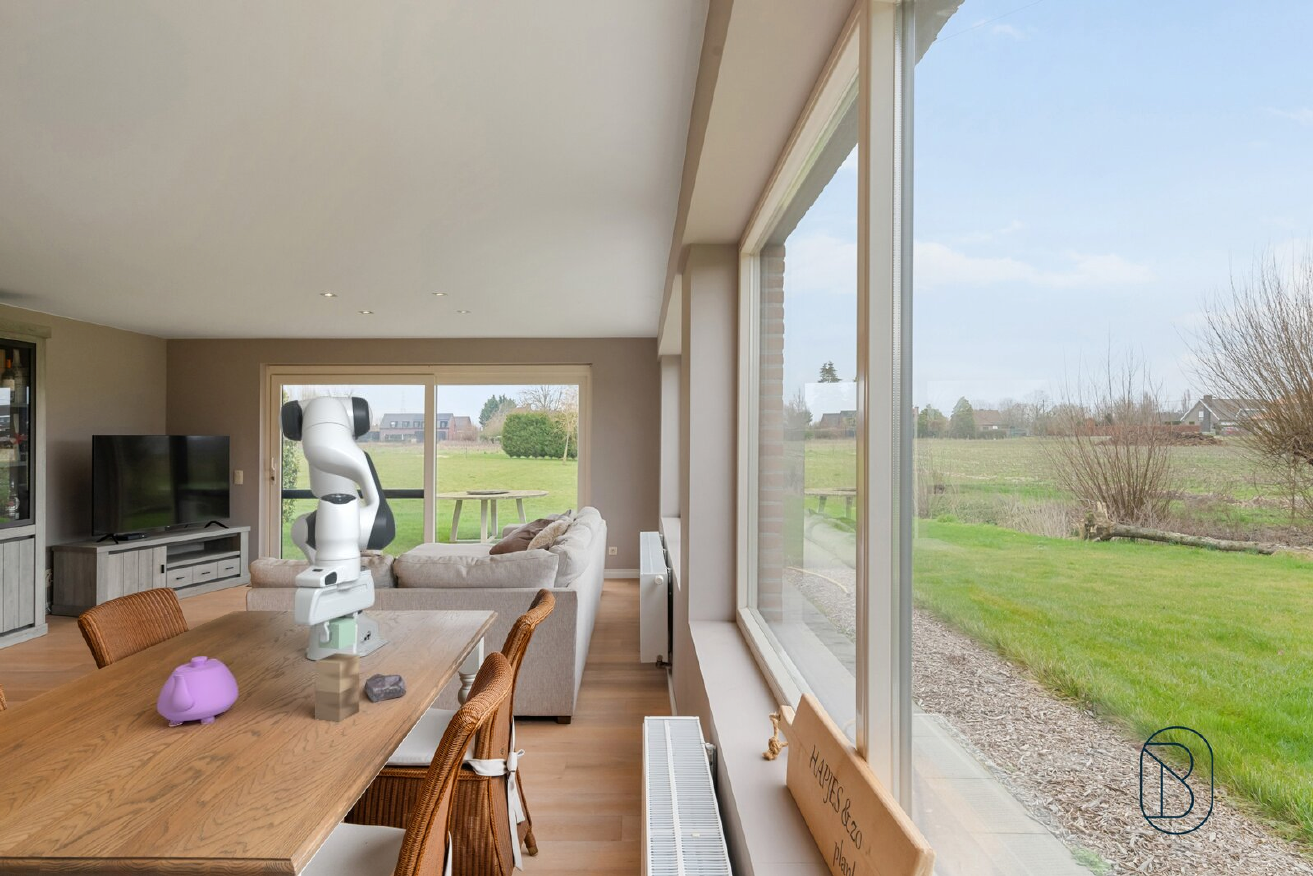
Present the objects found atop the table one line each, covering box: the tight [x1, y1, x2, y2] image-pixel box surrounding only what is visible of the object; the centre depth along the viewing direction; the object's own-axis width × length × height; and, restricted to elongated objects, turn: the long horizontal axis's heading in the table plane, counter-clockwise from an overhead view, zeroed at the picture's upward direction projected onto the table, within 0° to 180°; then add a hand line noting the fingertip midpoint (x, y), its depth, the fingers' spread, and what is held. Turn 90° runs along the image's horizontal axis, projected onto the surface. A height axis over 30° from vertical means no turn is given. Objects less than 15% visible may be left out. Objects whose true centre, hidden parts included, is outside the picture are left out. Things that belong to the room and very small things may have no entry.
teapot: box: [156, 655, 239, 725], centre depth 144 cm, size 20×14×12 cm
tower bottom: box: [314, 683, 360, 723], centre depth 146 cm, size 6×6×6 cm
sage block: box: [318, 618, 356, 649], centre depth 146 cm, size 5×5×5 cm
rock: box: [363, 673, 407, 703], centre depth 159 cm, size 8×11×5 cm
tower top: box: [314, 653, 360, 693], centre depth 146 cm, size 6×6×6 cm
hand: (337, 637), depth 146 cm, fingers closed on sage block, 5 cm apart
